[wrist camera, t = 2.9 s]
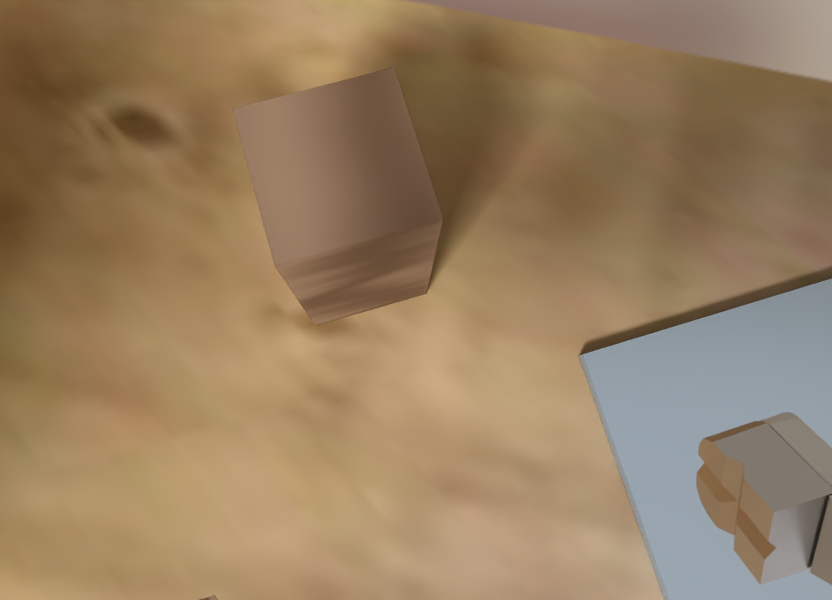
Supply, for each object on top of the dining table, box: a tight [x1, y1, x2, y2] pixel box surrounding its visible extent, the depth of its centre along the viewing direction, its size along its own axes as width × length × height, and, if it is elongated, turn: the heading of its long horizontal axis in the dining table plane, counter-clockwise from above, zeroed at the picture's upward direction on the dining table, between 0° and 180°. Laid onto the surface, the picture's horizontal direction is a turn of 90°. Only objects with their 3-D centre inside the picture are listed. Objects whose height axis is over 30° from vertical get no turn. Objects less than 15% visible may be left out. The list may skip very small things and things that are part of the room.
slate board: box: [579, 279, 832, 600], centre depth 28 cm, size 14×14×1 cm
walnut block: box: [233, 68, 443, 326], centre depth 24 cm, size 5×5×10 cm
